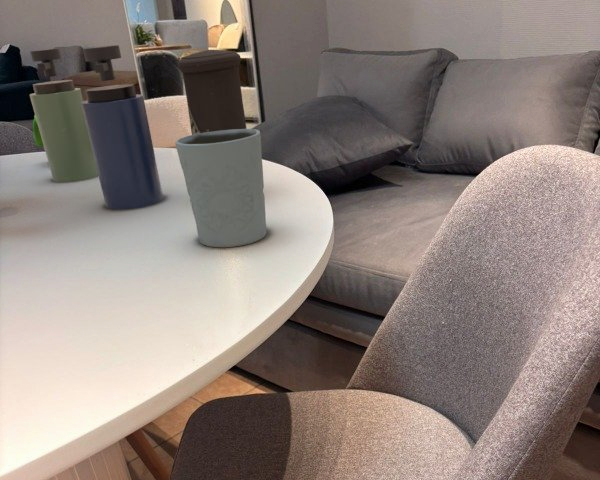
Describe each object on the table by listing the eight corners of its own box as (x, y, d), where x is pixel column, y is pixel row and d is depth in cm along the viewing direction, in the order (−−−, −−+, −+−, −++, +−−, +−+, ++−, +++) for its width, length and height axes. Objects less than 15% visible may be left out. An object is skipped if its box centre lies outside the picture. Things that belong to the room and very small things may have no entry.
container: (194, 195, 102) (169, 53, 91) (246, 185, 104) (229, 46, 94) (209, 206, 95) (184, 54, 84) (265, 195, 97) (248, 46, 87)
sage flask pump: (40, 76, 117) (33, 50, 114) (68, 73, 117) (61, 47, 115) (29, 80, 110) (22, 52, 108) (59, 77, 110) (52, 49, 108)
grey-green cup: (229, 254, 75) (212, 146, 68) (176, 241, 81) (156, 141, 75) (288, 230, 81) (278, 129, 74) (234, 220, 87) (221, 126, 81)
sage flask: (58, 174, 127) (33, 82, 119) (104, 169, 128) (82, 77, 119) (48, 184, 120) (21, 87, 111) (97, 178, 120) (73, 81, 111)
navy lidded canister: (110, 198, 105) (84, 88, 96) (164, 192, 105) (143, 81, 97) (101, 212, 97) (72, 93, 89) (161, 205, 98) (137, 86, 89)
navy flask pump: (93, 80, 94) (86, 48, 92) (127, 76, 95) (120, 44, 92) (84, 85, 88) (75, 50, 85) (120, 81, 88) (113, 46, 86)
